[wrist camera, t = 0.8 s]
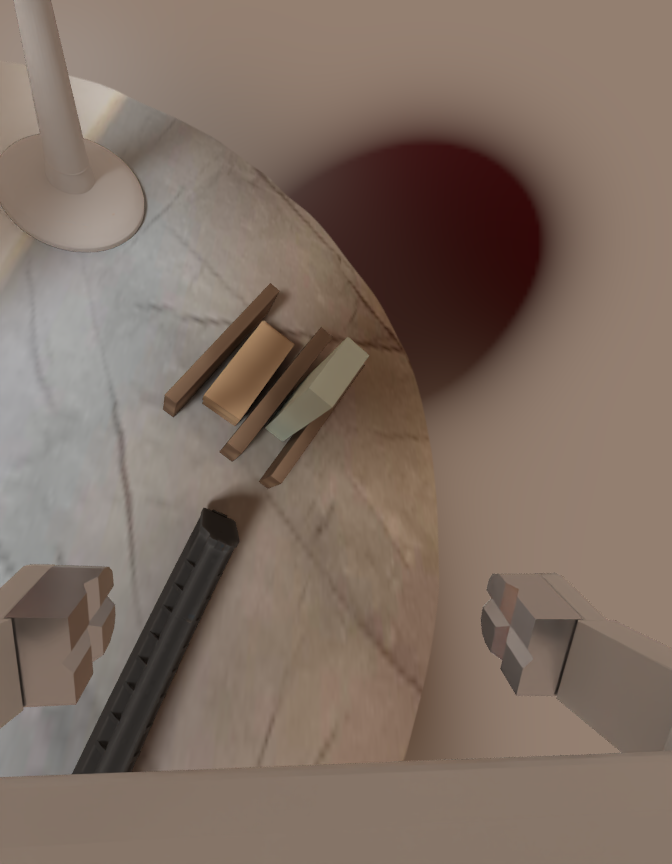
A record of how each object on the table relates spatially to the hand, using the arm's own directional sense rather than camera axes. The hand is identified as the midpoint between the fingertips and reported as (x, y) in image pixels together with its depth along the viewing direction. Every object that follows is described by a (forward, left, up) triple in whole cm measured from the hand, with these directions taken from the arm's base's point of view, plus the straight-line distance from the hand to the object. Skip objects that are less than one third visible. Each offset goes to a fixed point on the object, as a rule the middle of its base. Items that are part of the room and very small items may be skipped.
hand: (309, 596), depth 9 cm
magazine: (+4, -11, -35) cm, 36 cm away
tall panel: (0, +17, -34) cm, 38 cm away
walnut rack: (-3, +17, -34) cm, 39 cm away
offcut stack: (-6, +17, -35) cm, 39 cm away
